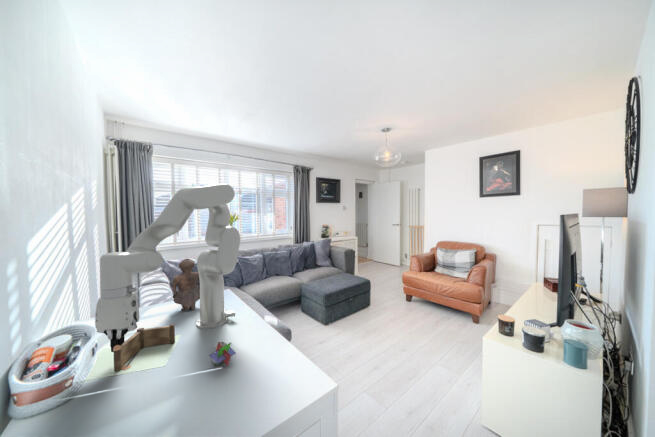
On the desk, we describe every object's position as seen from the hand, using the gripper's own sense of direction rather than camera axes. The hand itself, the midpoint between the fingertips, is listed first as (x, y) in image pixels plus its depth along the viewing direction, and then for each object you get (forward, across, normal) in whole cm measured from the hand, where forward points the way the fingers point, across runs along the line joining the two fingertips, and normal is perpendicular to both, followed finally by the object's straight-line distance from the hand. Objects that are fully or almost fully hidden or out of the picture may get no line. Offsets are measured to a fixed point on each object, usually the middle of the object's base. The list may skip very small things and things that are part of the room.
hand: (117, 349), depth 75 cm
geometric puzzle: (+5, -33, +5) cm, 34 cm away
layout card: (+5, -2, -4) cm, 7 cm away
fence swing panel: (+4, -2, -1) cm, 5 cm away
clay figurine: (+5, -4, -42) cm, 42 cm away
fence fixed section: (+4, -7, -9) cm, 12 cm away
